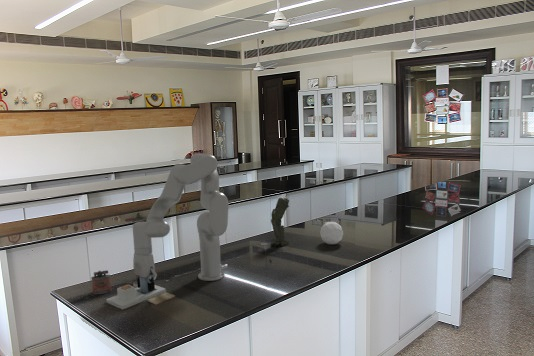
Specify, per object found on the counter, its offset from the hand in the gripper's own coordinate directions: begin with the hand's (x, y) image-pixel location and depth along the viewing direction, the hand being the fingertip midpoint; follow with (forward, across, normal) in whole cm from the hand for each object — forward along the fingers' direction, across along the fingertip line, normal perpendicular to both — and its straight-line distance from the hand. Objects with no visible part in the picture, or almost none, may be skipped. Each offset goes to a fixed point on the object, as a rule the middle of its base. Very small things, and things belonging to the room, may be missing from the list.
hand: (146, 288), depth 200 cm
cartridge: (+2, 0, 0) cm, 2 cm away
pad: (+2, +10, 0) cm, 11 cm away
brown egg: (0, 0, -10) cm, 10 cm away
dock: (+2, 0, -5) cm, 5 cm away
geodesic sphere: (+2, +29, +109) cm, 113 cm away
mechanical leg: (+2, +5, +91) cm, 91 cm away
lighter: (+3, -18, -11) cm, 21 cm away
